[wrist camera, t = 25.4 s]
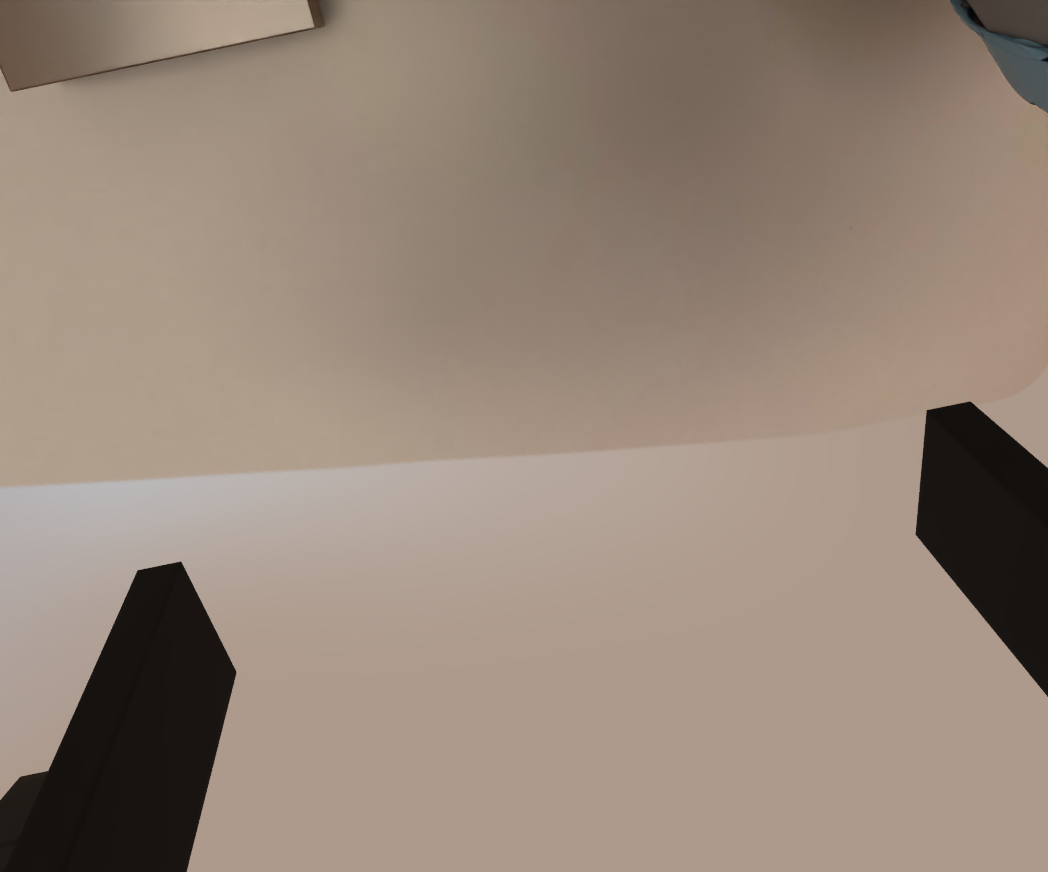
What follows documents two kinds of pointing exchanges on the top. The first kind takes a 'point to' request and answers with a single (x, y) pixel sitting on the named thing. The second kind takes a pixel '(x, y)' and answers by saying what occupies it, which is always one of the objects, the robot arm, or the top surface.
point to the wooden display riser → (132, 33)
